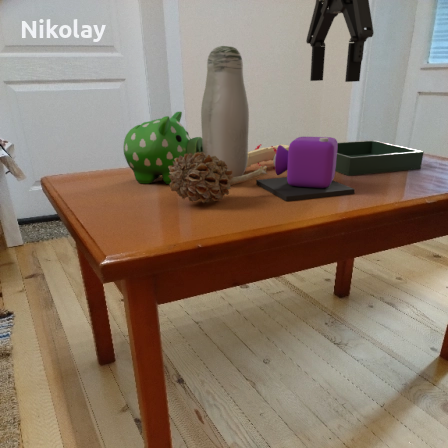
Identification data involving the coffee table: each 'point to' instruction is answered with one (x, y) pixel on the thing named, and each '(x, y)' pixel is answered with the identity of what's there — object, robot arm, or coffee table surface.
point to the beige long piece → (263, 154)
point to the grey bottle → (225, 110)
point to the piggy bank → (158, 147)
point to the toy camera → (308, 161)
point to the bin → (375, 158)
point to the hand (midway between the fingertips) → (333, 81)
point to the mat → (302, 189)
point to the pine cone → (204, 177)
